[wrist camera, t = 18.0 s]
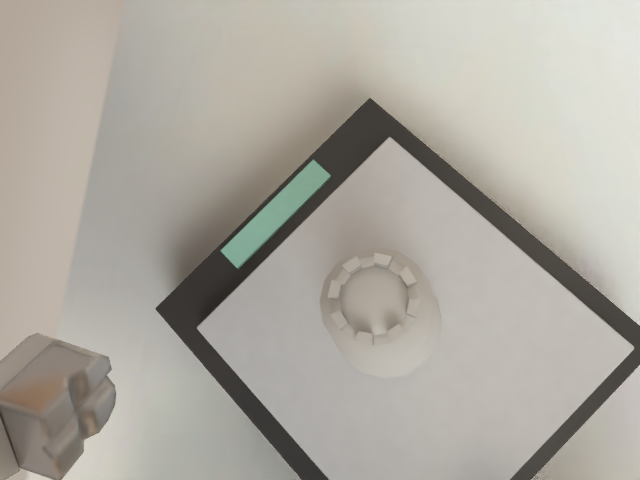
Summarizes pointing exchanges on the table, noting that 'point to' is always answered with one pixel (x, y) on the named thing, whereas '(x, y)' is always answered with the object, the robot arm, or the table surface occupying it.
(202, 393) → the table surface
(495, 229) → the kitchen scale
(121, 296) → the table surface
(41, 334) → the robot arm
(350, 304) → the rook chess piece
